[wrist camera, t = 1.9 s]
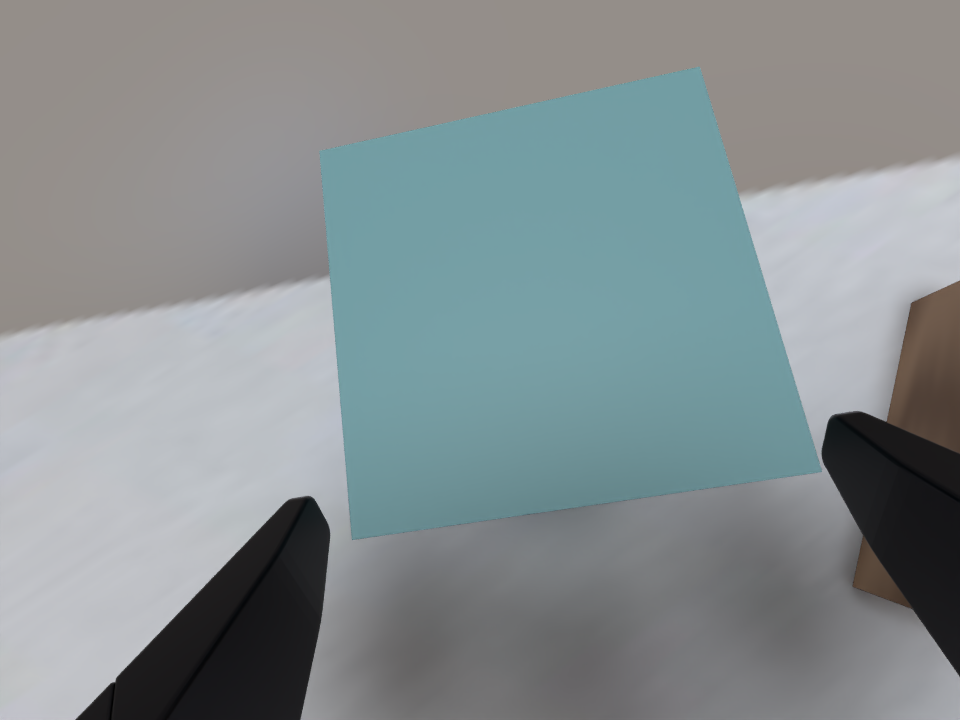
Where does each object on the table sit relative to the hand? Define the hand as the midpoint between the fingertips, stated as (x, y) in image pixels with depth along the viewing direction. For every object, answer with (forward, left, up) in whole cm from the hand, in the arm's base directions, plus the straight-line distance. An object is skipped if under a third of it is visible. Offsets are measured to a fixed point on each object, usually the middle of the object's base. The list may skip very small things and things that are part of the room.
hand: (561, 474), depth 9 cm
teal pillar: (+2, -1, -9) cm, 10 cm away
